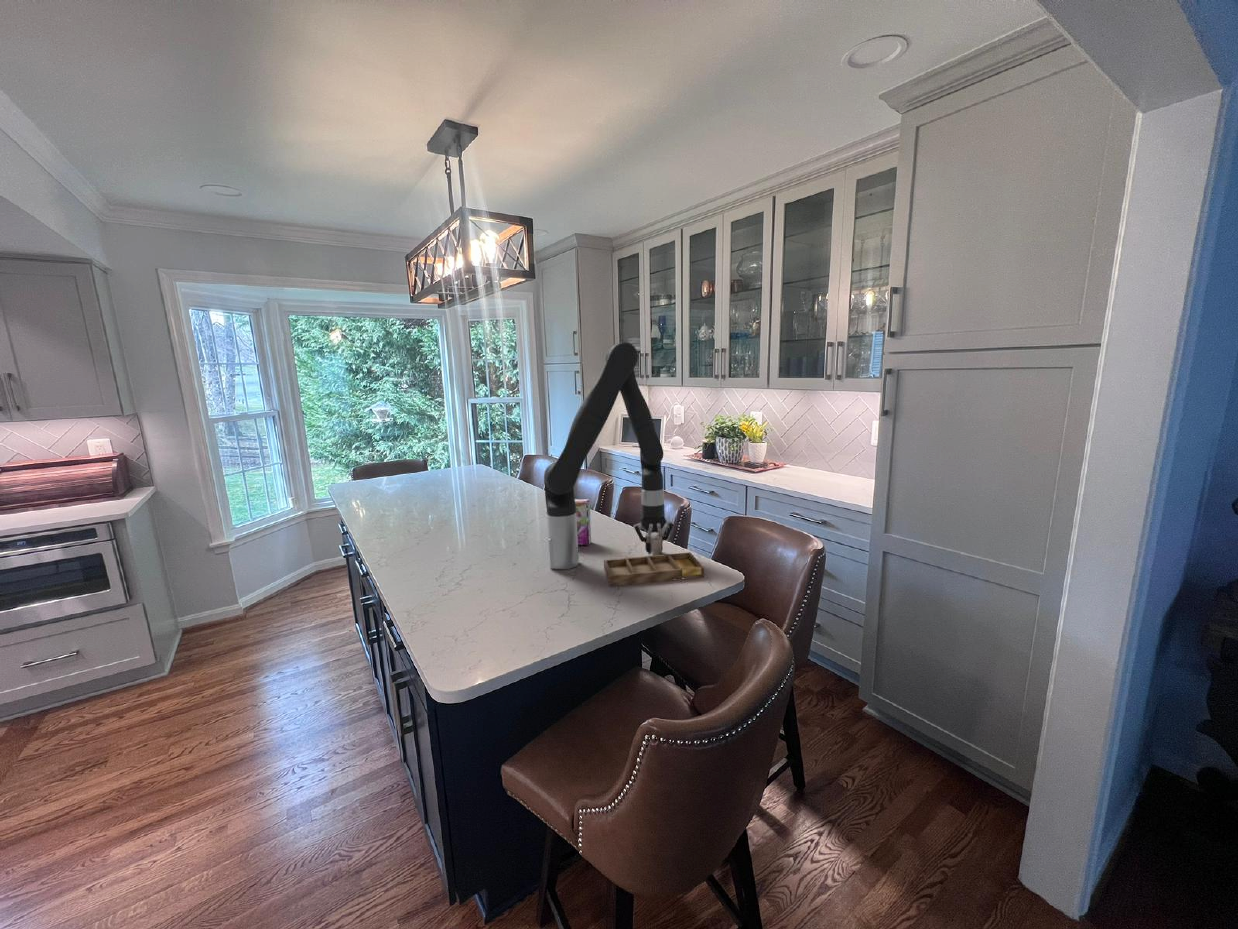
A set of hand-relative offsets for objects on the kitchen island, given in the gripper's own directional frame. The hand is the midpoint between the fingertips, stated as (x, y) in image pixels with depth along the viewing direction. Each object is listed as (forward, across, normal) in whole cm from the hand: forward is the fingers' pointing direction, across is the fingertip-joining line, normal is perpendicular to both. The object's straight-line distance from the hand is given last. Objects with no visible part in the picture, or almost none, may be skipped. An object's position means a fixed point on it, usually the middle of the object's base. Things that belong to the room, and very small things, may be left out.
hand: (654, 552), depth 166 cm
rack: (+1, -4, -15) cm, 16 cm away
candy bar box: (+1, -25, +19) cm, 31 cm away
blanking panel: (+1, 0, 0) cm, 1 cm away
